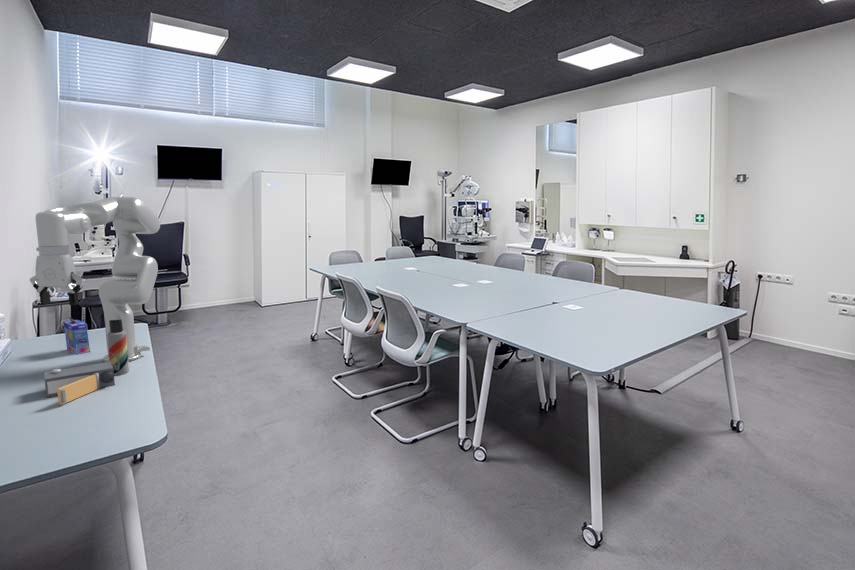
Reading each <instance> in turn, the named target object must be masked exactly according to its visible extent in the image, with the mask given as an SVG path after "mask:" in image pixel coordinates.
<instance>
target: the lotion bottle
mask: <svg viewBox="0 0 855 570" xmlns="http://www.w3.org/2000/svg"><path fill="white" fill-rule="evenodd" d="M109 326H110V332H109V333H107V339H108V350H109V361H110V362H111V364H112V366H113V370H114V376H121V374H122V375H125V374H127V372H128V373H129V372H130V364H129V362H130V361H128V349H127V337H126V331H123V326H122V319H119V320H109Z"/></svg>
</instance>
